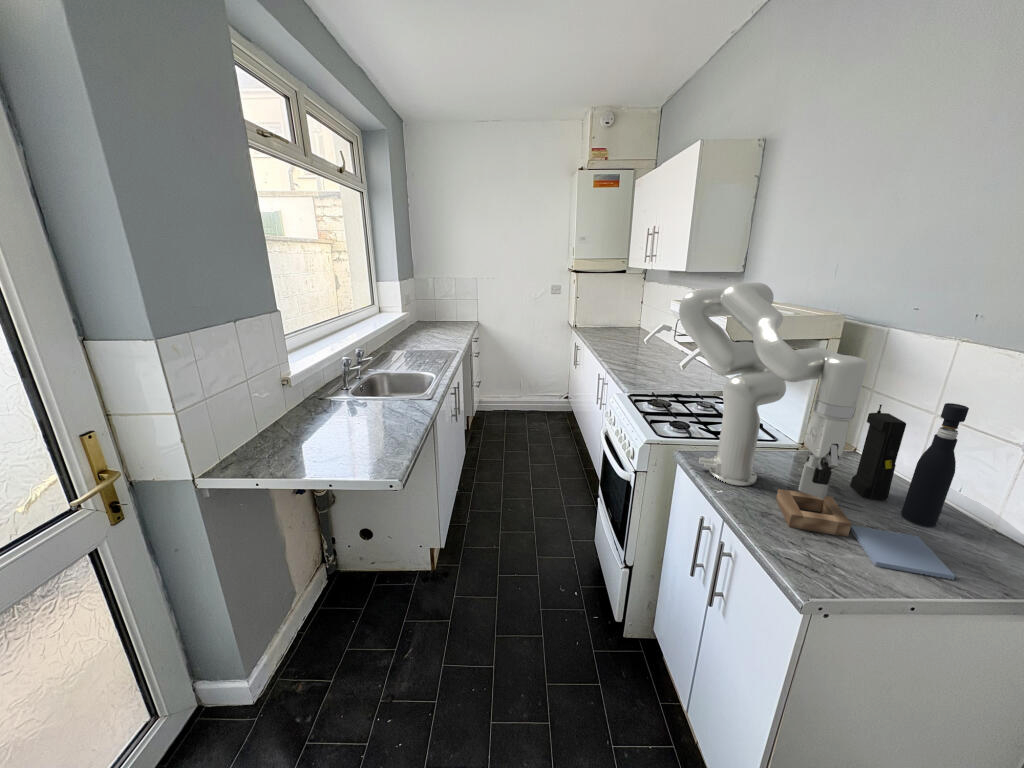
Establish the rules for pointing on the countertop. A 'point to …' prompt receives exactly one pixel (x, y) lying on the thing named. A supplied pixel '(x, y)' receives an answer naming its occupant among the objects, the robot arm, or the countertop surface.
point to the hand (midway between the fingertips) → (815, 476)
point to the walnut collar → (812, 513)
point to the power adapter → (807, 476)
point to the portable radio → (878, 456)
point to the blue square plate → (900, 552)
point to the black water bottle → (934, 471)
